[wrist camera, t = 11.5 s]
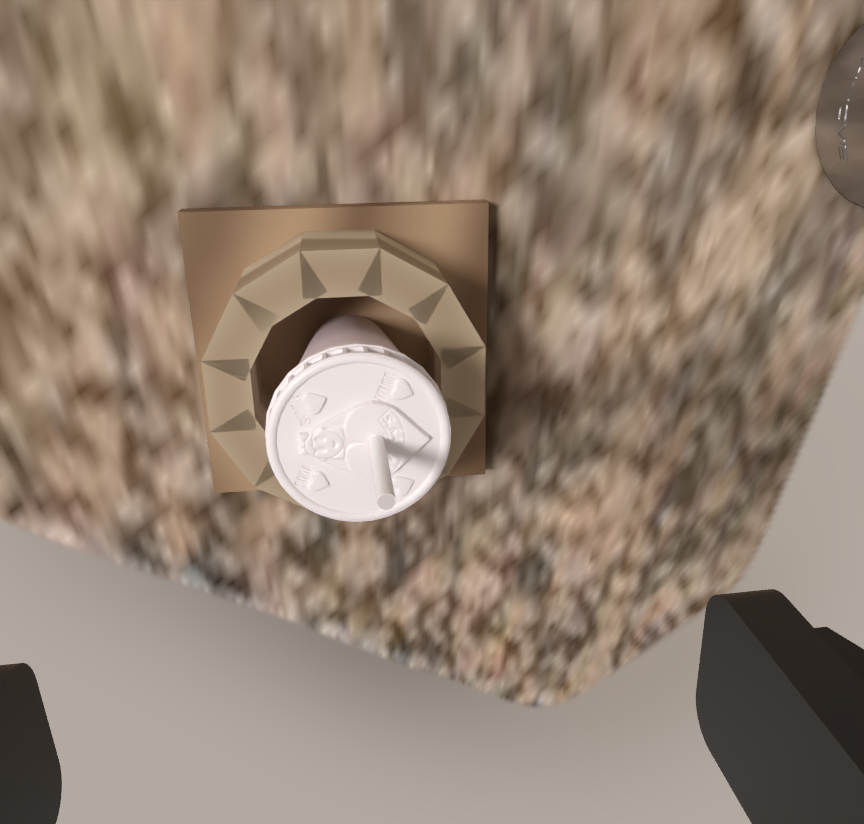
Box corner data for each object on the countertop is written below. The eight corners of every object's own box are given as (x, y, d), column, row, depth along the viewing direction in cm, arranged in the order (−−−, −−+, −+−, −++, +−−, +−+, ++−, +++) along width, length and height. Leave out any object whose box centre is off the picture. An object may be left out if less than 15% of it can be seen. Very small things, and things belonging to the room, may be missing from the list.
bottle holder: (484, 199, 35) (511, 217, 30) (481, 465, 40) (504, 519, 35) (181, 209, 33) (156, 229, 28) (217, 483, 38) (201, 543, 33)
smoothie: (419, 416, 37) (473, 588, 24) (281, 423, 36) (262, 604, 24) (419, 282, 35) (479, 394, 22) (272, 286, 34) (243, 404, 21)
